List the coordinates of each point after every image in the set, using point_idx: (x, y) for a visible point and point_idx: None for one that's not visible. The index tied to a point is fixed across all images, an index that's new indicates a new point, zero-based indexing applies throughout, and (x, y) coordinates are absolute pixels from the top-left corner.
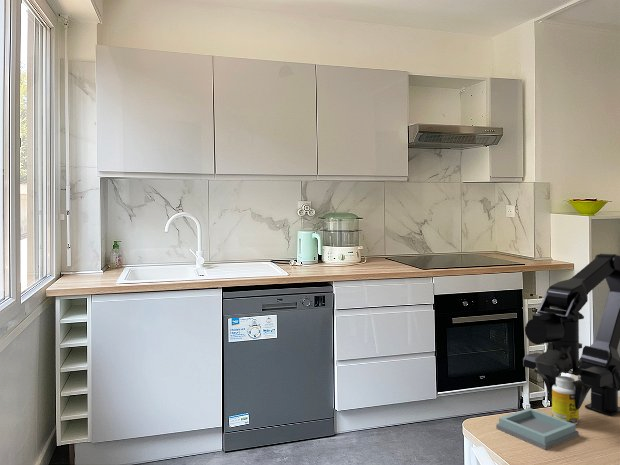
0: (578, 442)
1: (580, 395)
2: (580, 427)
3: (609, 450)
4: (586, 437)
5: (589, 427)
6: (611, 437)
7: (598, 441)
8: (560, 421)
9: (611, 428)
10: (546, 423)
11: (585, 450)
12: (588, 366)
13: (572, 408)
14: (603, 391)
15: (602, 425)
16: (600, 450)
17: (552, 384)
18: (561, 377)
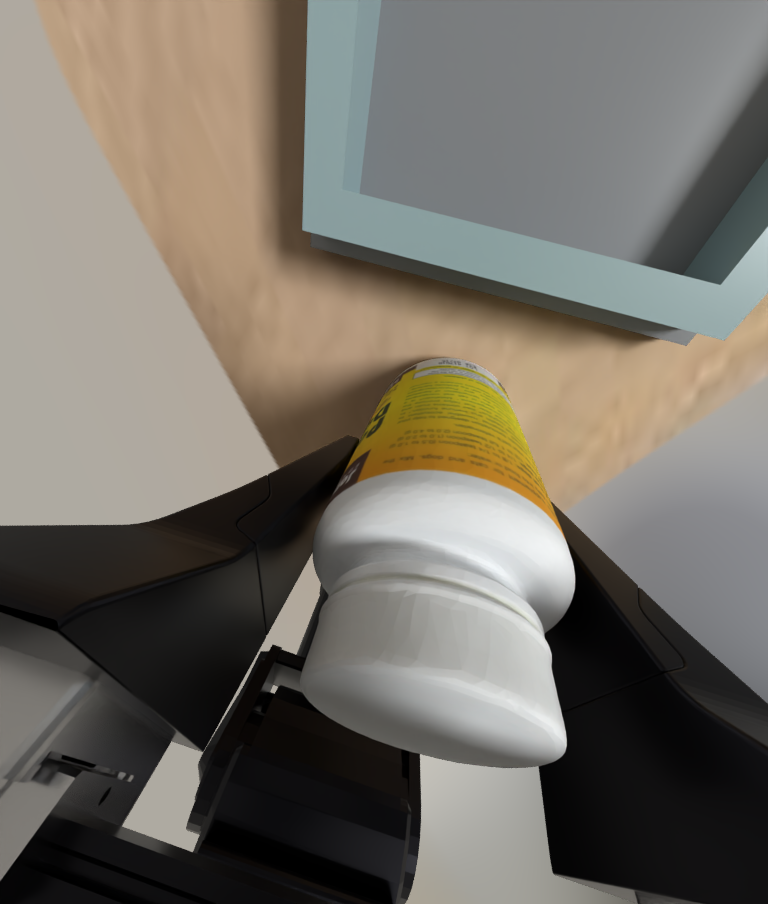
0: (276, 113)
1: (250, 486)
2: (363, 390)
3: (128, 159)
4: (289, 268)
5: (337, 416)
6: (232, 366)
7: (229, 260)
8: (415, 209)
9: (281, 457)
10: (533, 215)
11: None
12: (340, 835)
13: (372, 422)
14: None
15: None
16: (141, 95)
17: (575, 625)
18: (480, 747)
